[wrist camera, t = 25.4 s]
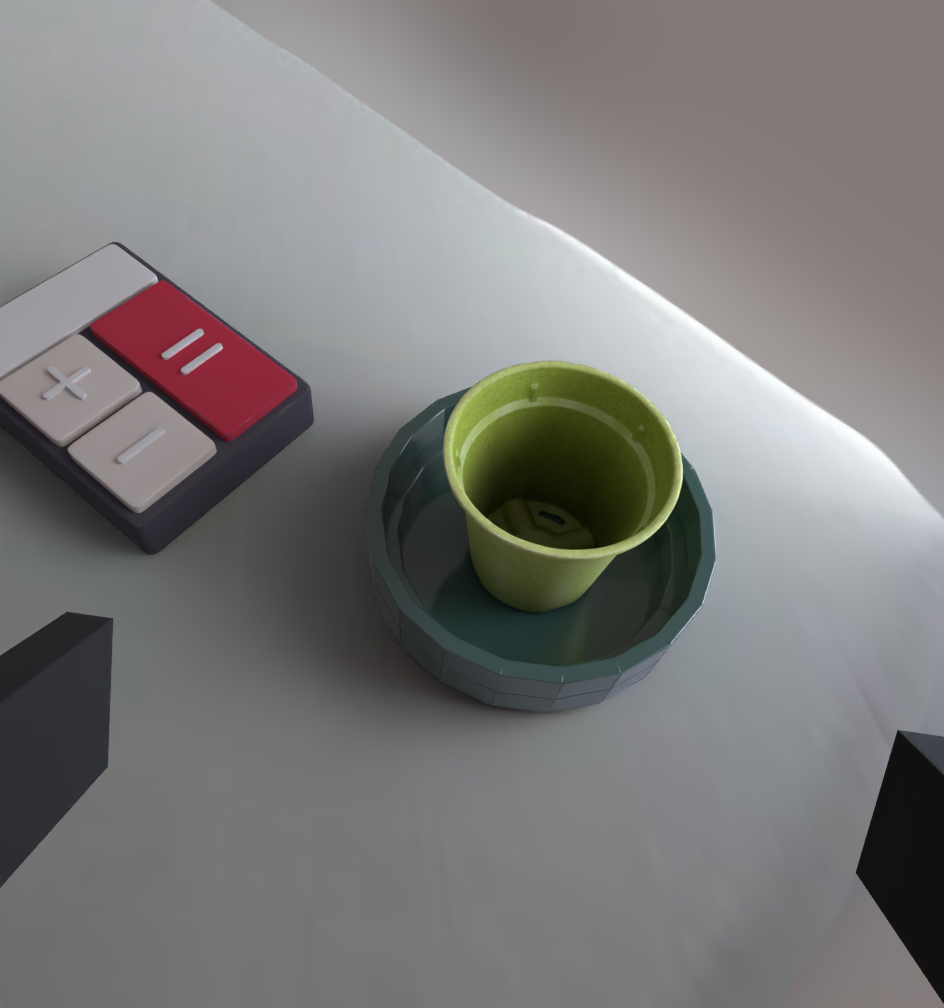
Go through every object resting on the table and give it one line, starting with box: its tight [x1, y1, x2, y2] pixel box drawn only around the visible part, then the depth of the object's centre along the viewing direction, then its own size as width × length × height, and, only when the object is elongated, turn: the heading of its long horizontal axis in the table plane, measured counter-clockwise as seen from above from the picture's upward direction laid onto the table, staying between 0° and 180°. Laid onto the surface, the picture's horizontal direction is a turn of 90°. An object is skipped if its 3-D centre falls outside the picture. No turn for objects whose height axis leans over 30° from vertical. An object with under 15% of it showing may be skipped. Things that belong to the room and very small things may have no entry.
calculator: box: [0, 242, 314, 554], centre depth 39 cm, size 11×4×15 cm
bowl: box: [365, 386, 717, 713], centre depth 35 cm, size 15×15×4 cm
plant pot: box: [443, 361, 683, 612], centre depth 33 cm, size 9×9×9 cm
